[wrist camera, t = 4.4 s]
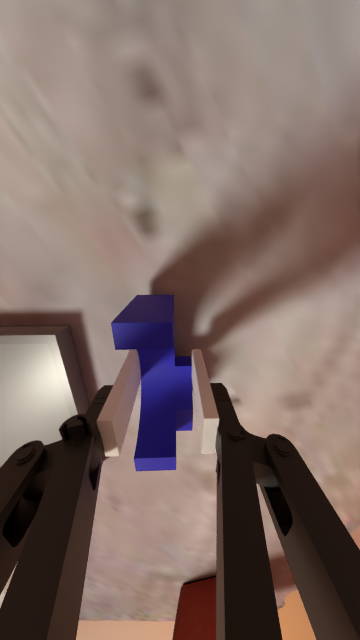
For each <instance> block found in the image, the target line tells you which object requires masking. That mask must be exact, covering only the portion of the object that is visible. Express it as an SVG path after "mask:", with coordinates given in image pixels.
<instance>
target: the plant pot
mask: <svg viewBox="0 0 360 640" xmlns="http://www.w3.org/2000/svg"><path fill="white" fill-rule="evenodd" d="M216 581H217V577H214V578H210V579H206V580H202V581H198V582H194V583H190V584H187V585H183V586H182V587H181V591H180V597H179V602H178V608H177V614H176V620H175V626H174V632H173V640H216Z"/></svg>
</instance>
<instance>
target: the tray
mask: <svg viewBox="0 0 360 640" xmlns="http://www.w3.org/2000/svg"><path fill="white" fill-rule="evenodd" d="M88 408H89V403H88V399H87V395H86V391H85V387H84V383H83V379H82V375H81V371H80V367H79V363H78V359H77V355H76V351H75V347H74V343H73V339H72V335H71V331H70V327H69V326H0V468H1V467H2V465H3V464H4V463H5V462H6V461H7V459H8V458H9V457H10V456H11V455H12V454H13V453H14V452H15V451H16V450H17V449H18V448H19V447H21V446H22V445H24V444H26V443H28V442H30V441H35V440H39V441H42V443H43V444H44V445H47V444H50V443H54V442H57V441H60V440H62V437H61V435H60V432H59V428H60V426H61V425H62V424H63V423H64V422H65V421H66V420H67V419H69V418H70V417H72V416H74V415H77V414H85V413H86V412H87V410H88ZM102 464H103V459H102V457H101V466H102Z"/></svg>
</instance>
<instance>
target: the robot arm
mask: <svg viewBox="0 0 360 640" xmlns="http://www.w3.org/2000/svg"><path fill="white" fill-rule="evenodd" d="M140 380H141V369H140V361H139V356H138V352H137V350H130V351H129V354H128V356H127V358H126V360H125V362H124V364H123V366H122V368H121V370H120V373H119V375H118V377H117V379H116V381H115V383H114V385H104V386H103V387H102V388H101V389H100V390H99V391H98V392H97V394H96V396H95V398H94V399H93V401H92V403H91V405H90V406H89V408H88V410H87V412H86V413H85V414H77V415H74V416H72V417H70V418H69V419H67V420H66V421H65V422H64V423H63V424H62V425H61V426H60V428H59V432H60V435H61V437H62V440H60V441H57V442H54V443H50V444H47V445H44V444H43V443H42V441H39V440H35V441H30V442H28V443H26V444H24V445H22V446H21V447H19V448H18V449H17V450H16V451H15V452H14V453H13V454H12V455H11V456H10V457H9V458H8V459H7V461H6V462H5V463H4V464H3V465H2V467H1V468H0V595H1V593H2V591H3V589H4V587H5V585H6V583H7V581H8V579H9V577H10V575H11V573H12V571H13V570H14V568H15V566H16V568H15V571H14V573H13V576H12V579H11V581H10V584H9V587H8V589H7V592H6V595H5V597H4V600H3V603H2V605H1V608H0V640H76V634H77V628H78V621H79V614H80V608H81V601H82V594H83V587H84V581H85V574H86V567H87V561H88V554H89V547H90V540H91V534H92V527H93V520H94V514H95V507H96V500H97V493H98V487H99V480H100V473H101V467H102V466H101V457H102V454H103V451H104V453H105V456H120V452H121V449H122V445H123V441H124V438H125V434H126V431H127V427H128V423H129V420H130V416H131V413H132V409H133V405H134V402H135V398H136V395H137V391H138V387H139V384H140ZM192 384H193V392H194V400H195V408H196V415H197V423H198V431H199V439H200V446H201V454H215V450H216V452H217V457H218V458H217V466H216V472H217V581H216V640H282V635H281V629H280V623H279V617H278V612H277V605H276V599H275V593H274V587H273V581H272V575H271V569H270V563H269V557H268V551H267V545H266V539H265V533H264V527H263V521H262V516H261V510H260V504H259V498H258V492H257V486H256V484H259V486H260V488H261V491H262V494H263V496H264V499H265V502H266V504H267V507H268V510H269V513H270V515H271V518H272V521H273V523H274V526H275V529H276V531H277V534H278V537H279V540H280V542H281V545H282V548H283V550H284V553H285V556H286V558H287V561H288V564H289V567H290V569H291V572H292V575H293V577H294V580H295V583H296V586H297V588H298V591H299V594H300V596H301V599H302V602H303V604H304V607H305V610H306V612H307V615H308V618H309V620H310V623H311V626H312V629H313V631H314V634H315V637H316V640H360V550H359V548H358V547H357V545H356V544H355V542H354V540H353V539H352V537H351V535H350V534H349V532H348V531H347V529H346V528H345V526H344V524H343V523H342V521H341V520H340V518H339V516H338V515H337V513H336V512H335V510H334V508H333V507H332V505H331V504H330V502H329V500H328V499H327V497H326V496H325V494H324V492H323V491H322V489H321V488H320V486H319V485H318V483H317V481H316V480H315V478H314V477H313V475H312V473H311V472H310V470H309V469H308V467H307V465H306V464H305V462H304V461H303V459H302V457H301V456H300V454H299V453H298V451H297V449H296V448H295V447H294V445H293V444H292V443H291V442H290V441H289V440H288V439H286V438H285V437H283V436H281V435H278V434H271V435H269V436H268V437H267V438H266V439H265V438H262V437H258V436H255V435H253V434H250V433H249V432H247V431H246V430H245V429H244V428H243V427H242V426H241V425H240V423H239V421H238V418H237V415H236V413H235V410H234V407H233V405H232V402H231V399H230V397H229V394H228V391H227V389H226V388H225V386H224V385H223V384H222V383H210V382H209V378H208V374H207V370H206V367H205V363H204V359H203V355H202V351H201V349H192ZM17 562H18V563H17ZM16 564H17V565H16Z"/></svg>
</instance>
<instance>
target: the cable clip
mask: <svg viewBox="0 0 360 640" xmlns="http://www.w3.org/2000/svg"><path fill="white" fill-rule="evenodd" d="M111 326H112V332H113V338H114V343H115V349H116V350H127V349H137V352H138V356H139V361H140V369H141V411H140V422H139V431H138V438H137V444H136V450H135V456H134V462H135V468H136V471H157V470H176V431H187V430H192V423H193V400H192V362H191V356H183V357H175V335H174V295H137V296H136V297H135V298H134V299H133V300H132V301H131V302H130V303H129V304H128V305H127V306H126V308H125V309H124V310H123V311H122V312H121V313H120V314H119V315H118V316H117V317H116V318H115V319H114V320H113V322H112V323H111Z"/></svg>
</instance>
